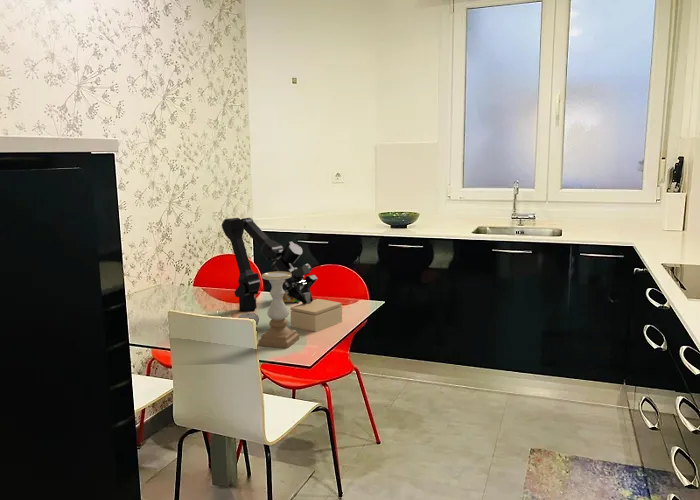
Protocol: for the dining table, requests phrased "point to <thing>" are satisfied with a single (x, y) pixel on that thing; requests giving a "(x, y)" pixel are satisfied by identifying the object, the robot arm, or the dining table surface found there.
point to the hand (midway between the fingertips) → (309, 302)
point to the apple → (250, 316)
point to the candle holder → (278, 315)
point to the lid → (315, 305)
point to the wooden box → (316, 319)
